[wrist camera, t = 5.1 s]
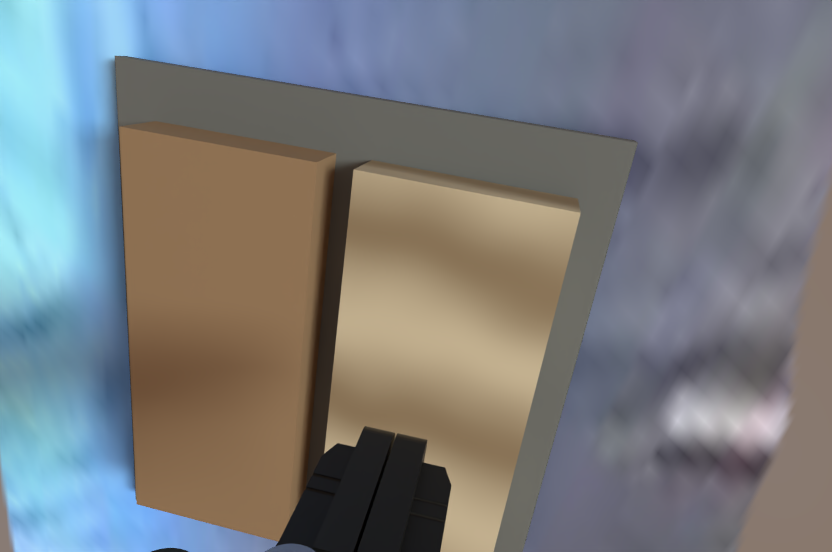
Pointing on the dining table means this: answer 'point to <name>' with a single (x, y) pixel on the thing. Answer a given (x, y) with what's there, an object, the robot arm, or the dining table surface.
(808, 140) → the dining table surface
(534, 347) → the oak plank
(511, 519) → the floor section
